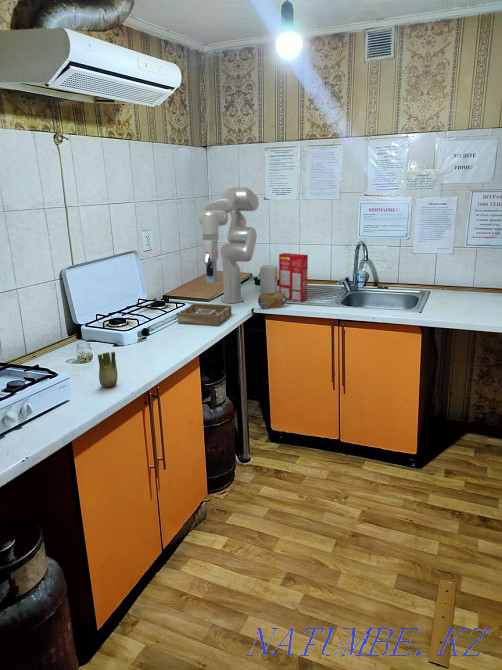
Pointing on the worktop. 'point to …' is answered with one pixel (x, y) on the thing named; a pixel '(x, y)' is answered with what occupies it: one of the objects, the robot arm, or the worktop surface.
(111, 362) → the fennel bulb
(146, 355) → the worktop surface
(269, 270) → the supplement box
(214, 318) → the walled box
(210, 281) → the connector
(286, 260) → the food packaging
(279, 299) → the brown snack packet
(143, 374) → the worktop surface
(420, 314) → the worktop surface
